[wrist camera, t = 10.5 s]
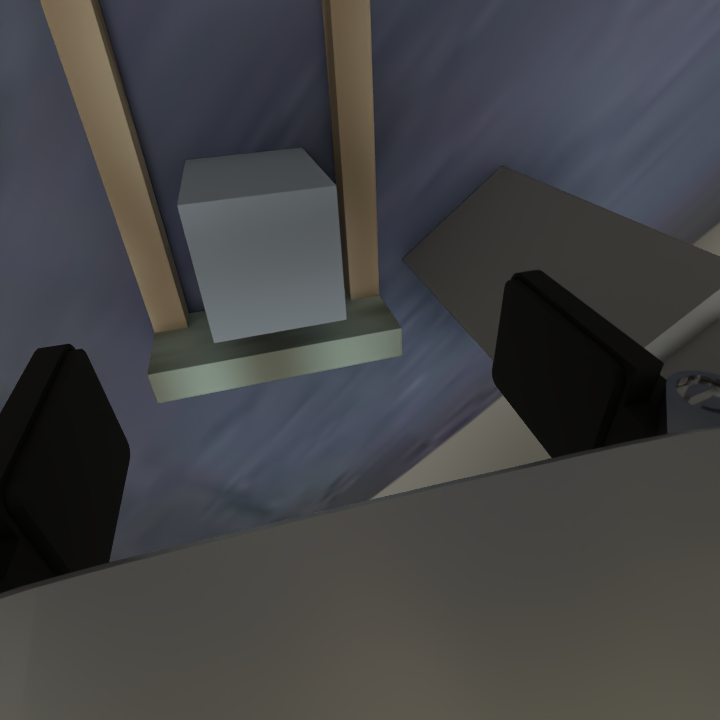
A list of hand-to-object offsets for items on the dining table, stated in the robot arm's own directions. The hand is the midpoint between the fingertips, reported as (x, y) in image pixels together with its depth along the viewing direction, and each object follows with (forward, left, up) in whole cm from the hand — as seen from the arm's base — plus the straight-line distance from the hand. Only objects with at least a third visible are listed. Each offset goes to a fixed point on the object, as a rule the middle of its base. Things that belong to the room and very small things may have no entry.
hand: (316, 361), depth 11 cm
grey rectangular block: (0, 0, -14) cm, 14 cm away
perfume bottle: (-12, +4, -14) cm, 19 cm away
